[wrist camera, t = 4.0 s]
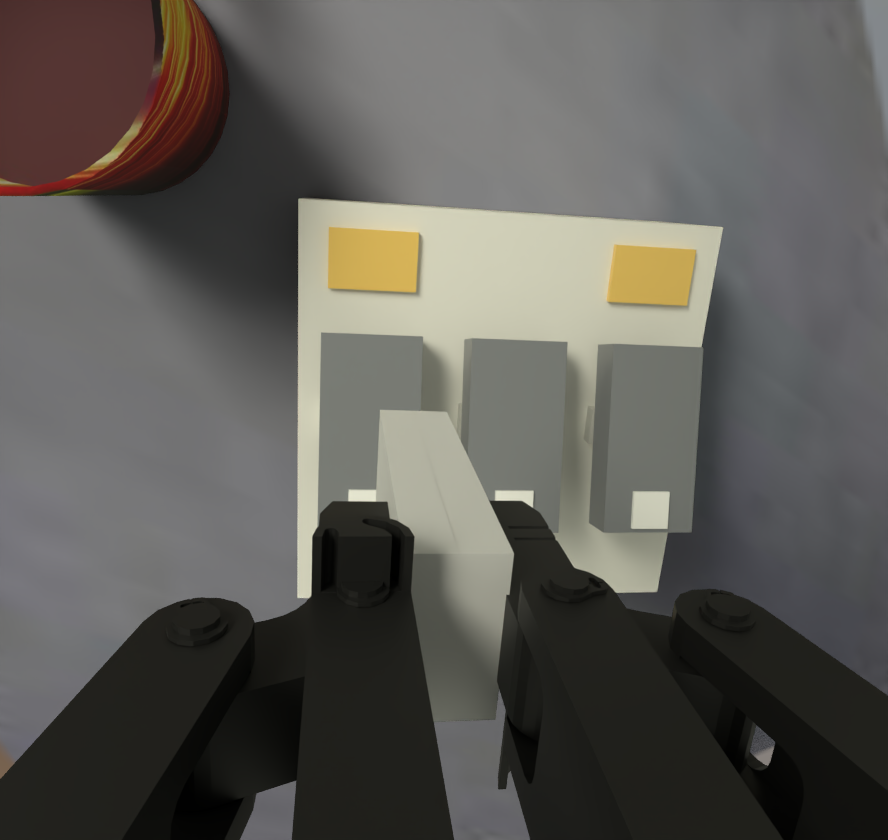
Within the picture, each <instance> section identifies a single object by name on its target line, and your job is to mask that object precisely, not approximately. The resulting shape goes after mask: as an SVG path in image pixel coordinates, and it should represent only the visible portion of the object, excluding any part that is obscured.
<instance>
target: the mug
mask: <svg viewBox="0 0 888 840" xmlns="http://www.w3.org/2000/svg"><path fill="white" fill-rule="evenodd" d="M228 104H229V83H228V71H227V67H226V64H225V60H224V56H223V52H222V49H221V46H220V44H219V42H218V40H217V37H216V35H215V33H214V31H213V29H212V27H211V25H210V23H209V22H208V20H207V19H206V17H205V16H204V15H203V13H202V12H201V10H200V9H199V7H198V6H197V4H196V3H195V2H194V1H193V0H0V196H73V195H143V194H148V193H153V192H158V191H163V190H165V189H167V188H169V187H172V186H174V185H176V184H179V183H181V182H182V181H184V180H185V179H186V178H188V177H189V176H190V175H192V174H193V173H195V172H196V171H197V170H198V169H199V168H200V167H201V166H202V165H203V163H204V162H205V161H206V160H207V159H208V158H209V157H210V156H211V154H212V152H213V150H214V148H215V147H216V145H217V143H218V141H219V139H220V138H221V135H222V132H223V128H224V125H225V122H226V119H227V114H228Z"/></svg>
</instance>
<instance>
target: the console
mask: <svg viewBox="0 0 888 840" xmlns="http://www.w3.org/2000/svg"><path fill="white" fill-rule="evenodd" d="M722 230H723V227H715V226H704V225H693V224H682V223H670V222H658V221H643V220H628V219H614V218H599V217H584V216H569V215H555V214H540V213H525V212H511V211H496V210H481V209H466V208H452V207H437V206H422V205H407V204H393V203H378V202H363V201H348V200H334V199H319V198H299V199H298V598H310V597H311V583H312V536H313V534H314V532H315V530H316V528H317V523H318V470H319V417H320V364H321V332H323V333H349V334H374V335H399V336H423V353H422V384H421V411H439V412H447V413H448V416H449V418H450V420H451V422H452V424H453V426H454V428H455V430H456V432H457V434H458V437H459V439H460V441H461V418H462V391H463V363H464V339H470V338H480V339H506V340H531V341H556V342H568V345H567V365H566V386H565V407H564V428H563V448H562V469H561V490H560V511H559V531H558V533H553V534H554V536H555V538H556V540H557V541H558V542H559V544H560V546H561V547H562V549H563V550H564V552H565V554H566V555H567V557H568V559H569V560H570V562H571V563H572V565H573V567H574V568H576V569H580V570H583V571H587V572H590V573H592V574H593V575H595V576H597V577H599V578H601V579H603V580H604V581H605V582H606V583H607V584H608V585H609V586H610V587H611V588H613V590H614V591H615V593H627V592H657V589H658V584H659V578H660V573H661V567H662V562H663V556H664V551H665V545H666V540H667V534H668V533H603V532H602V531H600V530H599V529H597V528H596V527H594V526H593V525H591V524H590V523H589V510H590V490H591V471H592V452H593V432H594V413H595V394H596V375H597V355H598V345H601V344H632V345H658V346H683V347H701V346H702V341H703V335H704V330H705V324H706V319H707V313H708V308H709V302H710V297H711V291H712V286H713V280H714V275H715V269H716V264H717V258H718V253H719V247H720V242H721V236H722Z"/></svg>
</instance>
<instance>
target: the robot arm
mask: <svg viewBox="0 0 888 840" xmlns="http://www.w3.org/2000/svg"><path fill="white" fill-rule="evenodd" d="M499 690H500V693H501V696H502V699H503V702H504V705H505V709H506V713H505V722H504V730H503V739H502V747H501V756H500V764H499V773H498V789H506V785H507V777H508V773H509V772H510V771H511V773H512V777H513V780H514V784H515V787H516V791H517V794H518V798H519V801H520V805H521V808H522V812H523V815H524V819H525V822H526V826H527V829H528V833H529V836H530V840H888V696H887V695H886V694H885V693H883V692H882V691H880V690H879V689H877V688H876V687H875V686H873V685H872V684H870V683H869V682H867V681H866V680H865V679H863V678H862V677H860V676H859V675H858V674H856V673H855V672H853V671H852V670H850V669H849V668H848V667H846V666H845V665H843V664H842V663H840V662H839V661H838V660H836V659H835V658H833V657H832V656H830V655H829V654H828V653H826V652H825V651H823V650H822V649H821V648H819V647H818V646H816V645H815V644H813V643H812V642H811V641H809V640H808V639H806V638H805V637H803V636H802V635H801V634H799V633H798V632H796V631H795V630H793V629H792V628H791V627H789V626H788V625H786V624H785V623H784V622H782V621H781V620H779V619H778V618H776V617H775V616H774V615H772V614H771V613H769V612H768V611H766V610H765V609H764V608H762V607H760V606H758V605H756V604H755V603H753V602H751V601H749V600H747V599H745V598H742V597H739V596H736V595H734V594H733V593H731V592H727V591H723V590H720V591H718V590H716V589H706V590H691V591H688V592H685V593H683V594H680V596H679V597H678V598H677V600H676V601H675V604H674V609H673V614H672V617H669V616H663V615H657V614H652V613H646V612H640V611H636V610H631V609H627V608H626V607H625V606H624V604H623V603H622V601H621V600H620V599H619V597H618V596H617V594H616V593H615V591H614V590H613V588H611V587H610V586H609V585H608V584H607V583H606V582H605V581H604V580H603V579H601V578H599V577H597V576H595V575H593V574H592V573H590V572H587V571H583V570H580V569H576V568H574V567H573V565H572V563H571V562H570V560H569V559H568V557H567V555H566V554H565V552H564V550H563V549H562V547H561V546H560V544H559V542H558V541H557V540H556V538H555V536H554V534H553V533H552V531H551V529H549V526H548V525H547V523H546V521H545V520H544V518H543V517H542V515H541V513H540V512H538V511H537V510H535V509H534V508H532V507H531V506H529V505H528V504H526V503H525V502H523V501H490V500H488V498H487V495H486V493H485V491H484V489H483V487H482V485H481V483H480V481H479V479H478V477H477V474H476V472H475V470H474V468H473V466H472V464H471V462H470V460H469V458H468V455H467V453H466V451H465V449H464V447H463V445H462V443H461V441H460V439H459V437H458V434H457V432H456V430H455V428H454V426H453V424H452V422H451V420H450V418H449V416H448V413H447V412H439V411H405V410H380V419H379V441H378V464H377V486H376V502H374V501H332V502H331V503H330V504H329V505H328V506H327V507H326V508H325V509H324V510H323V511H322V512H321V513H320V518H319V527H317V528H316V530H315V532H314V534H313V536H312V583H311V597H310V598H309V599H308V600H307V602H306V603H304V604H303V605H302V606H300V607H299V608H298V609H296V610H294V611H292V612H290V613H288V614H286V615H284V616H280V617H277V618H273V619H270V620H266V621H261V622H256V623H254V620H253V618H252V616H251V613H250V611H249V610H248V609H246V608H245V607H243V606H242V605H240V604H239V603H237V602H233V601H229V600H225V599H221V598H192V599H191V600H190V599H187V600H183V601H180V602H176V603H174V604H172V605H169V606H167V607H164V608H162V609H159V610H158V611H156V612H155V613H154V614H152V615H151V616H150V617H148V618H147V619H146V620H145V621H143V623H142V624H141V625H140V626H139V627H138V628H137V629H136V630H135V631H134V632H133V634H132V635H131V636H130V637H129V638H128V639H127V640H126V641H125V642H124V643H123V645H122V646H121V647H120V648H119V649H118V650H117V651H116V652H115V653H114V654H113V656H112V657H111V658H110V659H109V660H108V661H107V662H106V663H105V664H104V665H103V667H102V668H101V669H100V670H99V671H98V672H97V673H96V674H95V675H94V677H93V678H92V679H91V680H90V681H89V682H88V683H87V684H86V685H85V686H84V688H83V689H82V690H81V691H80V692H79V693H78V694H77V695H76V696H75V697H74V699H73V700H72V701H71V702H70V703H69V704H68V705H67V706H66V707H65V708H64V710H63V711H62V712H61V713H60V714H59V715H58V716H57V717H56V718H55V719H54V721H53V722H52V723H51V724H50V725H49V726H48V727H47V728H46V729H45V730H44V732H43V733H42V734H41V735H40V736H39V737H38V738H37V739H36V740H35V741H34V743H33V744H32V745H31V746H30V747H29V748H28V749H27V750H26V751H25V752H24V754H23V755H22V756H21V757H20V758H19V759H18V760H17V761H16V762H15V764H14V765H13V766H12V767H11V768H10V769H9V770H8V771H7V773H5V775H4V776H3V777H2V778H1V779H0V840H240V838H241V836H242V834H243V831H244V829H245V827H246V824H247V822H248V820H249V818H250V815H251V813H252V811H253V808H254V803H255V798H256V793H259V792H262V791H265V790H268V789H271V788H274V787H277V786H280V785H283V784H286V783H289V782H293V781H296V780H297V781H296V794H295V806H294V819H293V832H292V840H454V837H453V831H452V825H451V819H450V814H449V808H448V802H447V796H446V790H445V785H444V779H443V773H442V767H441V762H440V756H439V750H438V744H437V739H436V733H435V727H434V722H445V721H470V720H495V718H496V710H497V701H498V692H499ZM756 725H757V726H758V727H760V728H761V729H762V730H763V731H764V732H765V733H766V734H767V735H768V736H769V737H771V738H772V739H773V740H774V741H775V742H776V743H775V746H774V750H773V754H772V758H771V762H770V763H769V765H768V766H767V765H764V764H763V763H762V762H760V761H759V760H757V759H756V758H755V757H754V756H753V755H752V754H751V753H750V748H751V744H752V740H753V736H754V732H755V728H756Z"/></svg>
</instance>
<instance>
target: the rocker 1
mask: <svg viewBox="0 0 888 840" xmlns="http://www.w3.org/2000/svg"><path fill="white" fill-rule="evenodd" d="M422 353H423V336H399V335H374V334H349V333H323V332H321V364H320V417H319V470H318V523H317V527H319V518H320V513H321V512H322V511H323V510H324V509H325V508H326V507H327V506H328V505H329V504H330V503H331V502H332V501H374V502H376V486H377V464H378V441H379V419H380V410H405V411H421V384H422Z"/></svg>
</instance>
